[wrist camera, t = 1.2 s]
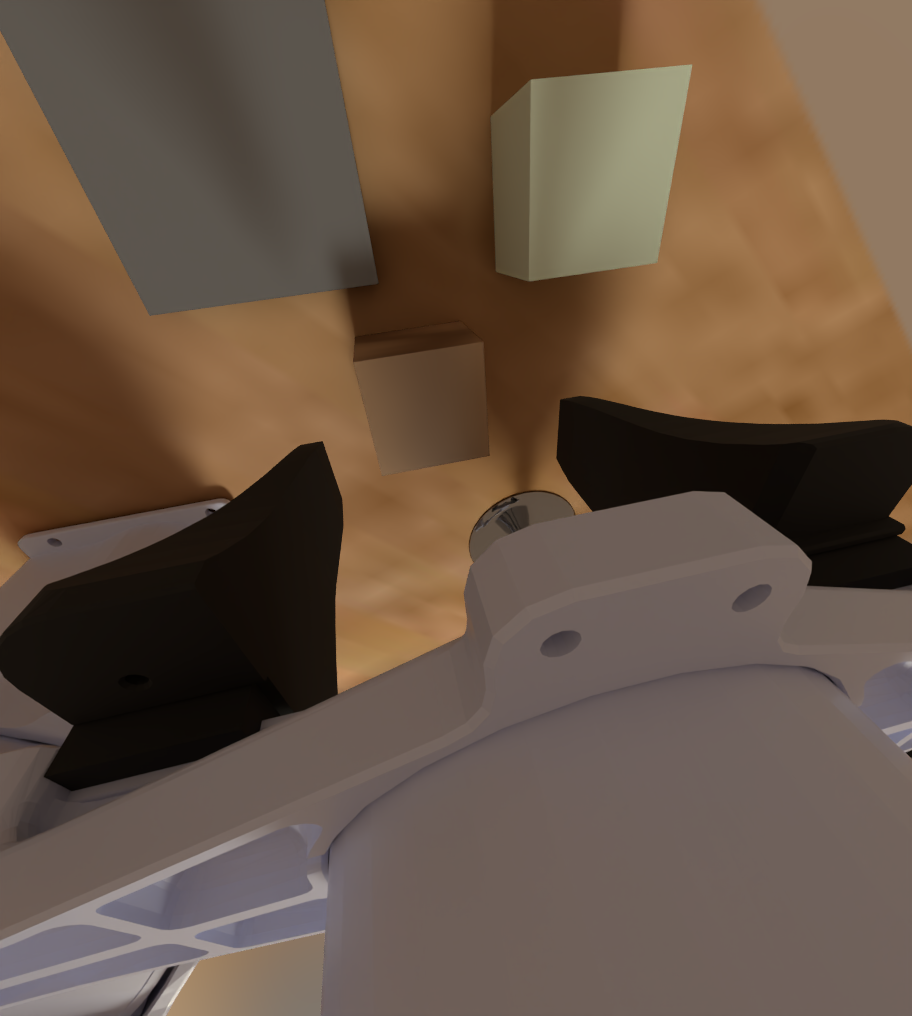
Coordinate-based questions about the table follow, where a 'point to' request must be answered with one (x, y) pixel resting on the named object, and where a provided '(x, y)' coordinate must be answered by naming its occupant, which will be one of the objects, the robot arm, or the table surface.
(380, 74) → the table surface
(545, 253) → the sage cube
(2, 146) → the table surface
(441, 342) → the walnut block
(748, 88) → the table surface
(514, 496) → the wine glass
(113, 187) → the slate board
